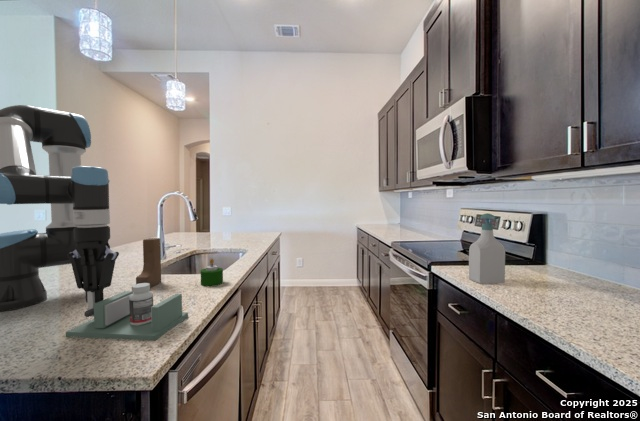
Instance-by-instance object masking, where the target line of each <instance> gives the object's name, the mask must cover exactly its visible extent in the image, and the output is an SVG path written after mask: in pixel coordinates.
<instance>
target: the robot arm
mask: <svg viewBox="0 0 640 421" xmlns="http://www.w3.org/2000/svg"><path fill="white" fill-rule="evenodd" d="M90 128H91V127H90V125H89V122H88V120H87V119H86V118H85V117H84V116H83V115H81V114H77V113H71V112H69V111H61V110H57V109H56V110H55V109H50V108H44V107H40V106H38V107H37V106H33V105H27V104H16V105H10V106H6V107H3V108H1V109H0V205H9V206H10V205H34V204H35V205H36V204H37V205H39V204H40V205H42V204H43V205H44V204H47V205H48V204H50V216H51V217H50V219H51V222H50V223H49V224H47V225H46V226H45V232H40V233H39V232H38V230H37V228H35V229H33V228H31V229H22V230H20V229H19V230H14V231H8V232H1V233H0V312H6V311H13V310H17V309H18V310H19V309H21V308H26V307H29V306H33V305H36V304H39V303H41V302H44V301H45V300H47V299H48V294H47V293H48V292H47V290H46V288H45V285H44V284H43V281H42V280H41V278H40V275H39V272H40V271H39V269H40V268H49V267H57V266H58V267H59V266H63V265H71V268H72V273H73V276H74V279H75V284H76V286H77V288H78V289H81V290H83V291H84V292H85V302H86V304H87V310H90V309H92V308H94V304H95V303H97V302H100V301H102V300H105V299H104V289H106V288H109V287H111V285H112V280H113V276H114V271H115V270H114V269H115V266H116V262H117V261H116V260H117V258H118V257H119V255H120V252H118V251H113V250H112V249H111V246H110V244H109V240H110V239H111V227H110V226H109V224H110V223H111V216H110V213H111V212H110V194H109V193H110V185H109V184H110V180H109V171H108V170H107V168H105V167H99V166H84V165H82V159H81V158H82V157H81V156H82V155H84V154H85V153H86V151H87V149H88V148H90V147H91V145H92V134H91V129H90ZM31 142H33V143H39V144H41V148H42V150H43V151H45V152H46V153H47V154H48V172H49V173H48V175H45V174H43V175H42V174H37V170H36V165H35V161H34V159H35V158H34V156H33V155H34V154H33V150H32V146H31V144H32V143H31ZM89 317H91V318H94V315H92V316H89Z"/></svg>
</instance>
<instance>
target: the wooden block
mask: <svg viewBox="0 0 640 421" xmlns="http://www.w3.org/2000/svg"><path fill="white" fill-rule="evenodd" d="M161 250H162V249H161V238H159V237H157V238H156V237H152V238H151V237H150V238H145V239H142V252H143V254H142V256H143V258H142V260H143V261H142V262H143V265H142V266H143V267H142V270H141V272H140V274H139V275H138V276H136V278H135V284H140V283H149V284H150V288H153V287H155V286H157V285H159V284H160V283H162V259H161V257H162V254H161V252H162V251H161Z"/></svg>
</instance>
